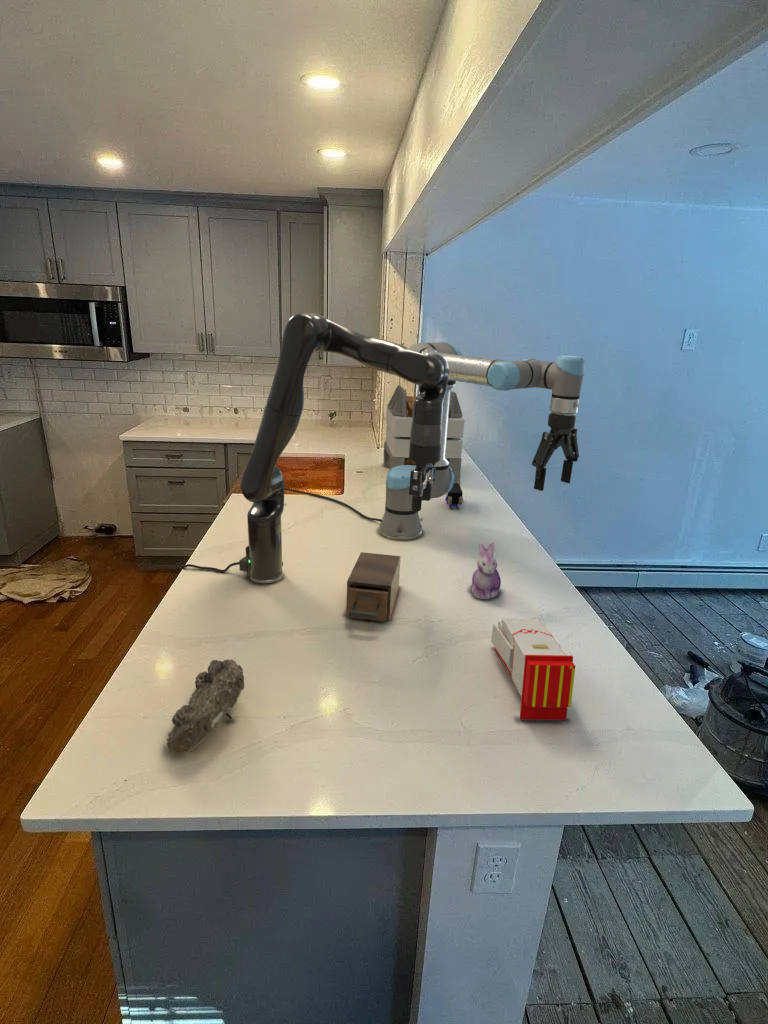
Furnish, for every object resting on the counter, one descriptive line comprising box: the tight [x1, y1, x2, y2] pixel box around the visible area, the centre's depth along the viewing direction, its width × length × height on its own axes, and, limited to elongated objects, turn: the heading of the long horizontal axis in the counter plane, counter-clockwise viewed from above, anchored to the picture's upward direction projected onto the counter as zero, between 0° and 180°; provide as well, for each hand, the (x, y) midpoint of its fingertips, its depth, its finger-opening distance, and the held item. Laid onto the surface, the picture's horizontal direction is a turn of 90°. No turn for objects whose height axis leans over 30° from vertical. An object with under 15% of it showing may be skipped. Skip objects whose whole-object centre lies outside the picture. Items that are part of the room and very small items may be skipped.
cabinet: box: [345, 552, 401, 621], centre depth 152 cm, size 18×11×10 cm, turn 171°
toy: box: [490, 617, 576, 721], centre depth 122 cm, size 12×13×30 cm
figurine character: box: [444, 483, 464, 510], centre depth 231 cm, size 7×8×15 cm
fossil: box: [166, 658, 245, 754], centre depth 106 cm, size 22×10×15 cm
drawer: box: [346, 585, 388, 622], centre depth 147 cm, size 23×10×8 cm, turn 171°
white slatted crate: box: [383, 384, 465, 484], centre depth 268 cm, size 34×33×41 cm
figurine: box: [470, 541, 502, 600], centre depth 158 cm, size 9×10×15 cm
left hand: (421, 505), depth 140 cm, fingers open, 8 cm apart
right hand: (552, 485), depth 166 cm, fingers open, 13 cm apart
